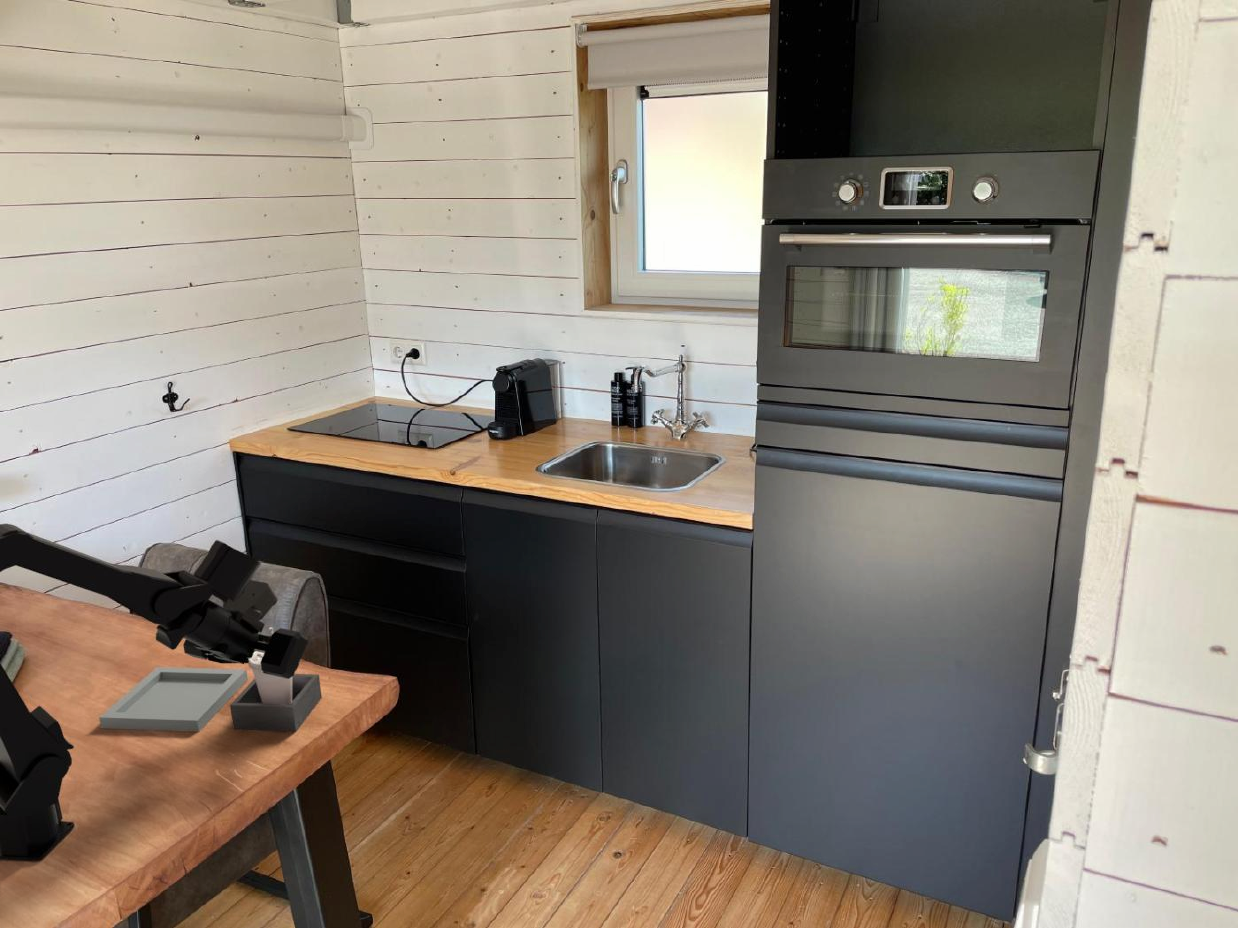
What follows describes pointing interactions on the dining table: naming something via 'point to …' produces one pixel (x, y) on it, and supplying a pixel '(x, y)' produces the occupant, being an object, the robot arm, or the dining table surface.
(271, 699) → the smoothie
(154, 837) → the dining table surface
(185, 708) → the tray
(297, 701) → the cup holder
